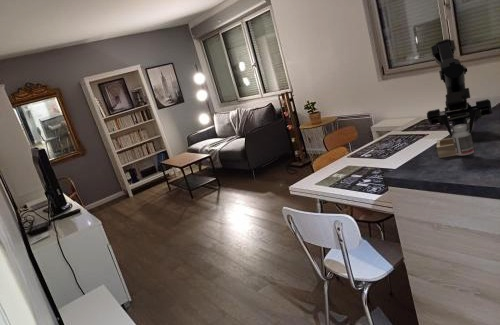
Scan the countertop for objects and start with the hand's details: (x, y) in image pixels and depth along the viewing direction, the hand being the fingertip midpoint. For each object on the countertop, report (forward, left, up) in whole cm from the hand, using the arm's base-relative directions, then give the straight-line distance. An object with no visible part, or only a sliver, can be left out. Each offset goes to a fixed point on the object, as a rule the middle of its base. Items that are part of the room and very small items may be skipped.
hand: (460, 134), depth 118 cm
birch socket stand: (-9, -4, -9) cm, 13 cm away
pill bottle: (-1, 0, -7) cm, 7 cm away
